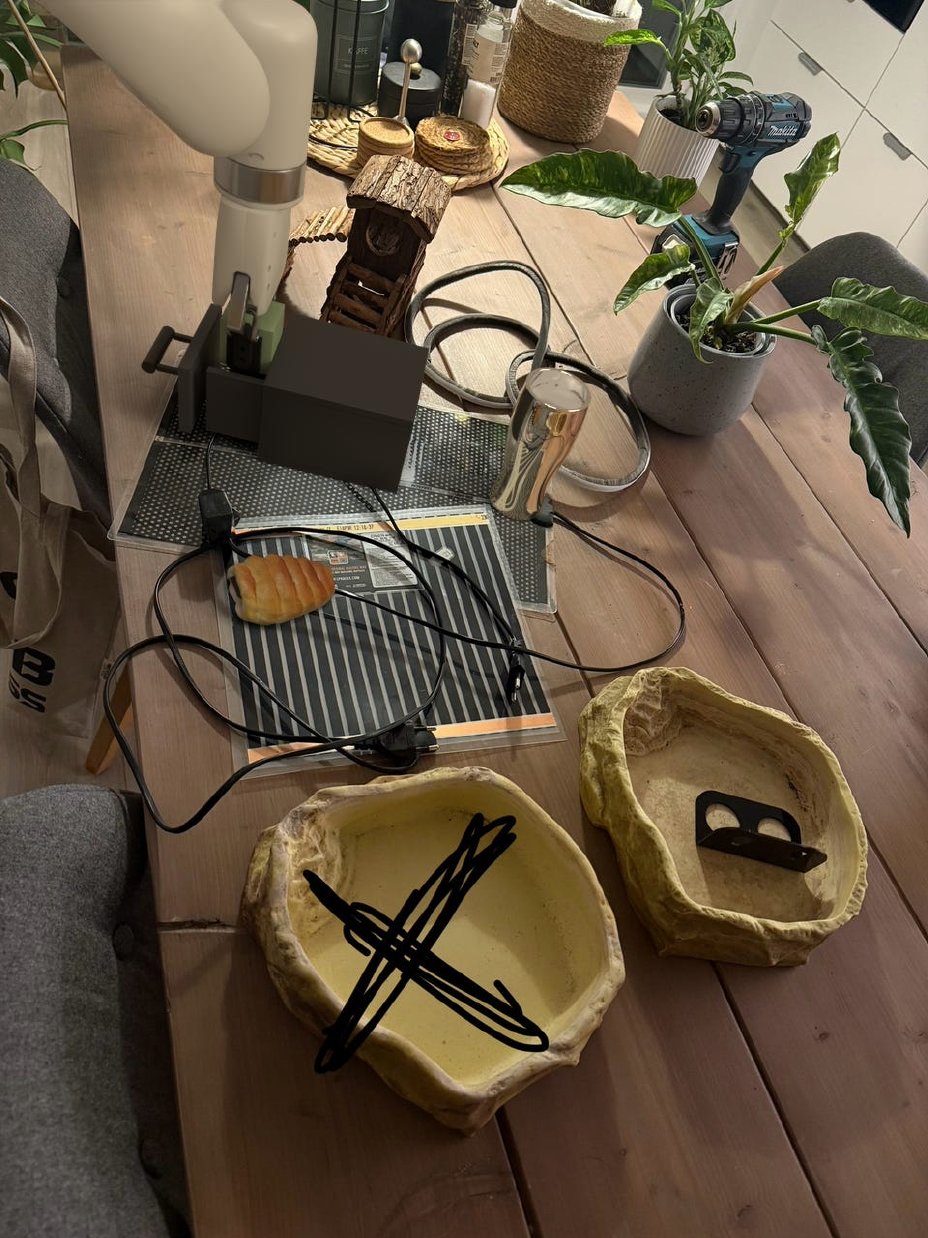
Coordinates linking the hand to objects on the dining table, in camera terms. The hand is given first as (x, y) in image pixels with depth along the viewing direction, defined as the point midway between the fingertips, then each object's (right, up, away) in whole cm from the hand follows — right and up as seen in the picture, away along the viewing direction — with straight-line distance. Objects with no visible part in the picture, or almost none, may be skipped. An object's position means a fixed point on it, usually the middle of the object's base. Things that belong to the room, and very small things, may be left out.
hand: (250, 351), depth 87 cm
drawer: (-3, -4, +5) cm, 7 cm away
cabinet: (+8, -7, +7) cm, 13 cm away
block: (0, 0, 0) cm, 0 cm away
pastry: (+4, -25, -8) cm, 26 cm away
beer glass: (+27, -14, +8) cm, 31 cm away
